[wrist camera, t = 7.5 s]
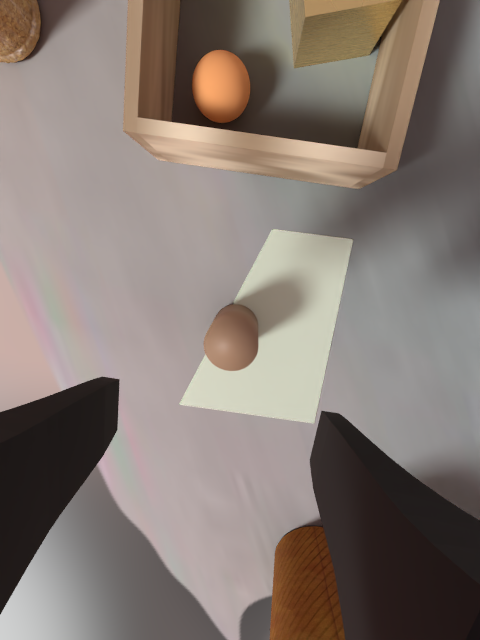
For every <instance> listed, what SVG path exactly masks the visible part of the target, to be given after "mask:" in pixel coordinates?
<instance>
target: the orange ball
mask: <svg viewBox="0 0 480 640" xmlns="http://www.w3.org/2000/svg"><path fill="white" fill-rule="evenodd" d="M192 92H193V97H194V100H195V103H196V105H197V107H198V108H199V110H200V111H201V112H202V114H203V115H204V116H205V117H207V118H208V119H210V120H211V121H214V122H217V123H227V122H230V121H233V120H235V119H236V118H237V117H239V116H240V115H241V114H242V112H243V111H244V109H245V108H246V106H247V103H248V100H249V96H250V79H249V75H248V72H247V70H246V67H245V66H244V64H243V62H242V61H241V60H240V59H239V58H238V57H237V56H236V55H235V54H233V53H231V52H229V51H226V50H214V51H211V52H209V53H207V54H206V55H205V56H203V57H202V59H201V60H200V61H199V62H198V64H197V66H196V68H195V70H194V74H193V79H192Z"/></svg>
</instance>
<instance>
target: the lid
mask: <svg viewBox="0 0 480 640" xmlns="http://www.w3.org/2000/svg"><path fill="white" fill-rule="evenodd" d="M352 243H353V239H347V238H339V237H331V236H323V235H315V234H307V233H299V232H292V231H284V230H276V229H272V231H271V233H270V235H269V236H268V238H267V240H266V242H265V244H264V246H263V248H262V250H261V251H260V253H259V255H258V257H257V259H256V261H255V263H254V265H253V266H252V268H251V270H250V272H249V274H248V276H247V278H246V280H245V282H244V283H243V285H242V287H241V289H240V291H239V293H238V295H237V297H236V298H235V300H234V302H233V304H232V305H228V306H226V307H224V308H222V309H221V310H220V311H219V312H218V314H217V315H216V317H215V319H214V321H213V322H212V324H211V326H210V328H209V330H208V331H207V333H206V336H205V339H204V350H205V353H206V355H205V357H204V358H203V360H202V362H201V364H200V366H199V368H198V370H197V372H196V373H195V375H194V377H193V379H192V381H191V383H190V385H189V387H188V388H187V390H186V392H185V394H184V396H183V398H182V400H181V402H180V404H179V405H186V406H193V407H200V408H207V409H215V410H222V411H229V412H236V413H243V414H250V415H257V416H264V417H271V418H278V419H285V420H293V421H300V422H307V423H314V422H315V417H316V412H317V408H318V403H319V398H320V393H321V389H322V384H323V379H324V375H325V370H326V365H327V361H328V356H329V351H330V346H331V342H332V337H333V332H334V328H335V323H336V318H337V314H338V309H339V304H340V299H341V295H342V290H343V285H344V281H345V276H346V271H347V266H348V262H349V257H350V252H351V248H352Z"/></svg>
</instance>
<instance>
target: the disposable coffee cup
mask: <svg viewBox="0 0 480 640" xmlns="http://www.w3.org/2000/svg"><path fill="white" fill-rule="evenodd" d="M271 611H272V612H271V628H270V640H345V634H344V627H343V621H342V614H341V608H340V602H339V596H338V590H337V584H336V578H335V573H334V569H333V564H332V560H331V556H330V552H329V548H328V544H327V540H326V536H325V533H324V529H323V527H318V526H312V527H302V528H299V529H296V530H293V531H291V532H290V533H288V534H287V535H285V536H284V537H283V538H282V539H281V541H280V542H279V543H278V545H277V547H276V551H275V562H274V578H273V595H272V608H271Z"/></svg>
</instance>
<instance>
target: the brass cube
mask: <svg viewBox="0 0 480 640" xmlns="http://www.w3.org/2000/svg"><path fill="white" fill-rule="evenodd" d="M289 2H290V16H291V31H292V46H293V60H294V68H298V67H304V66H310V65H316V64H322V63H327V62H333V61H339V60H345V59H351V58H356V57H362V56H368V55H369V54H370V53H371V51H372V50H373V48H374V46H375V45H376V43H377V41H378V40H379V38H380V36H381V35H382V33H383V31H384V30H385V28H386V26H387V25H388V23H389V21H390V20H391V18H392V17H393V15H394V13H395V12H396V10H397V8H398V7H399V5H400V3H401V2H402V0H289Z"/></svg>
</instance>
